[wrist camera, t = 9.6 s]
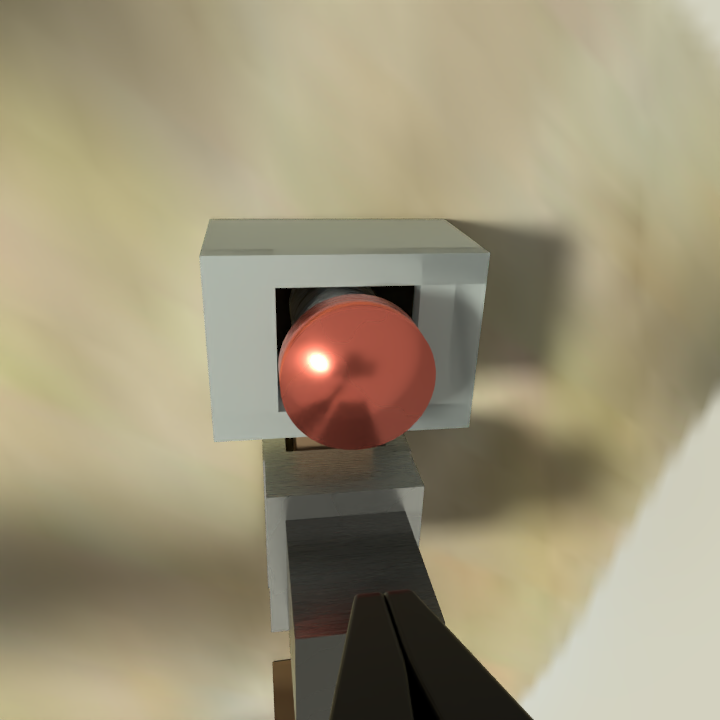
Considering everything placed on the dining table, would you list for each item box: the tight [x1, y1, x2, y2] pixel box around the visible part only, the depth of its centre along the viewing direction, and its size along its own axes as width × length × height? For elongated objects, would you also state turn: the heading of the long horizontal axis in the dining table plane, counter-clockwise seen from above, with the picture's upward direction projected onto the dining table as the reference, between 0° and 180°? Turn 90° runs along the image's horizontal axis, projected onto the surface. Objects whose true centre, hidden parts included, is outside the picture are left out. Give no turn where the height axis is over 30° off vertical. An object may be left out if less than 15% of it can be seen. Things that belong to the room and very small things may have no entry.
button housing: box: [200, 219, 490, 442], centre depth 17 cm, size 5×7×4 cm
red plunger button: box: [278, 286, 436, 450], centre depth 16 cm, size 4×4×5 cm
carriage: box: [262, 434, 445, 720], centre depth 18 cm, size 5×4×8 cm
